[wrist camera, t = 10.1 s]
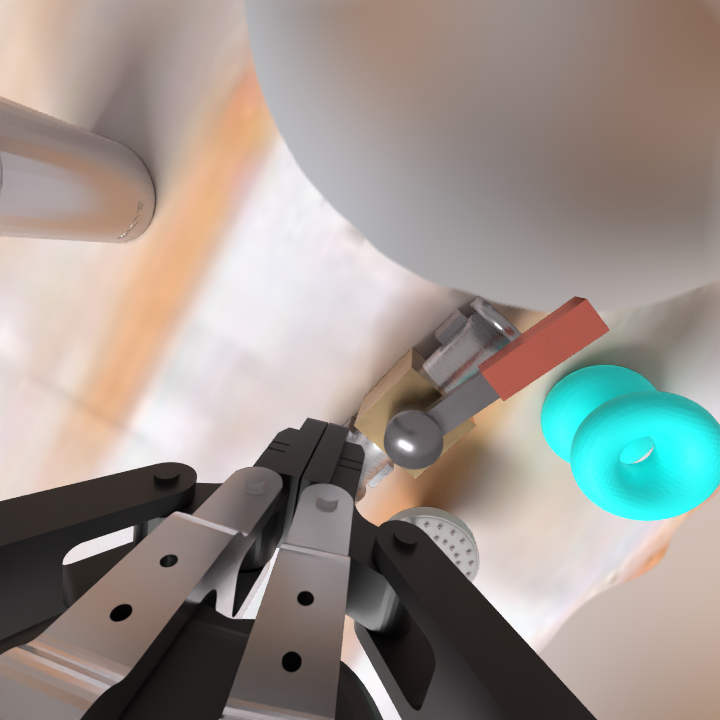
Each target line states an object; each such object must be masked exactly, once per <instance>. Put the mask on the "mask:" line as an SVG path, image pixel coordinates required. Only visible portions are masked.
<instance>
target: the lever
mask: <svg viewBox="0 0 720 720" xmlns="http://www.w3.org/2000/svg"><path fill="white" fill-rule="evenodd" d="M608 331H609V328H608V327H607V326H606V324H605V323H604V322H603V320H602V319H601V318H600V316H599V315H598V314H597V312H596V311H595V310H594V308H593V307H592V306H591V304H590V303H589V301H588V300H587V299H585V298H580V297H576V296H575V297H574V298H572V299H571V300H570V301H568V302H567V303H565V304H564V305H562V306H561V307H560V308H558V309H557V310H555V311H554V312H552V313H551V314H550V315H548V316H547V317H545V318H544V319H543V320H541V321H540V322H538V323H537V324H536V325H534V326H533V327H531V328H530V329H529V330H527V331H526V332H524V333H523V334H522V335H520V336H519V337H517V338H516V339H515V340H513V341H512V342H510V343H509V344H508V345H506V346H505V347H503V348H502V349H501V350H499V351H498V352H496V353H495V354H494V355H492V356H491V357H489V358H488V359H487V360H485V361H484V362H482V363H481V364H480V365H478V368H479V371H477V372H476V373H474V374H473V375H472V376H470V377H469V378H467V379H466V380H465V381H463V382H462V383H460V384H459V385H457V386H456V387H455V388H453V389H452V390H450V391H449V392H448V393H446V394H445V395H443V396H442V397H441V398H439V399H438V400H436V401H435V402H433V403H432V404H431V405H429V406H428V407H424V406H421V405H417V404H409V405H404V406H402V407H399V408H398V409H396V410H395V411H394V412H393V413H392V414H391V415H390V416H389V418H388V420H387V423H386V428H385V434H384V448H385V451H386V453H387V455H388V456H389V458H390V459H391V460H392V461H393V462H394V463H396V464H397V465H399V466H401V467H403V468H406V469H413V470H415V469H423V468H426V467H428V466H430V465H432V464H433V463H434V462H435V461H437V459H438V458H439V457H440V455H441V453H442V450H443V444H444V443H443V436H444V435H445V434H447V433H448V432H450V431H451V430H453V429H454V428H456V427H457V426H459V425H460V424H462V423H463V422H465V421H466V420H468V419H469V418H470V417H472V416H473V415H475V414H476V413H478V412H479V411H481V410H482V409H484V408H485V407H487V406H488V405H490V404H491V403H493V402H494V401H496V400H497V399H499V398H500V397H501V398H502V399H503V401H505V400H506V399H508V398H509V397H511V396H512V395H514V394H515V393H517V392H518V391H520V390H521V389H523V388H524V387H526V386H527V385H529V384H530V383H532V382H533V381H535V380H536V379H538V378H539V377H541V376H542V375H544V374H545V373H547V372H548V371H550V370H551V369H553V368H554V367H556V366H557V365H559V364H560V363H562V362H563V361H565V360H566V359H568V358H569V357H571V356H572V355H574V354H575V353H577V352H578V351H580V350H581V349H583V348H584V347H586V346H587V345H589V344H590V343H591V342H593V341H594V340H596V339H597V338H599V337H600V336H602V335H603V334H605V333H606V332H608Z"/></svg>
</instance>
